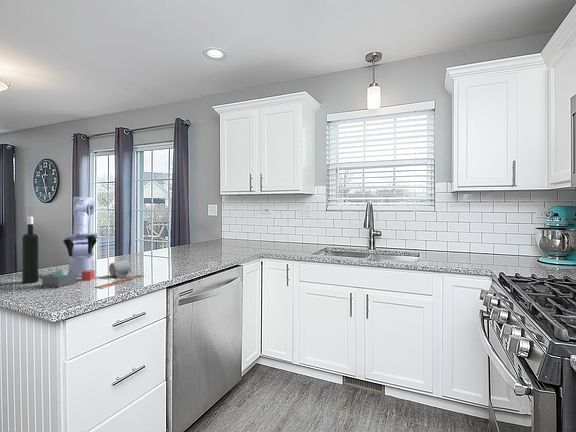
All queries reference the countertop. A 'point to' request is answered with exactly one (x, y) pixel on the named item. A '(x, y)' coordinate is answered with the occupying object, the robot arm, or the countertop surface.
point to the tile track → (119, 281)
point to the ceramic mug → (120, 269)
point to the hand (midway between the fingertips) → (80, 254)
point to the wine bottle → (30, 255)
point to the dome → (59, 273)
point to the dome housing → (59, 280)
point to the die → (88, 274)
